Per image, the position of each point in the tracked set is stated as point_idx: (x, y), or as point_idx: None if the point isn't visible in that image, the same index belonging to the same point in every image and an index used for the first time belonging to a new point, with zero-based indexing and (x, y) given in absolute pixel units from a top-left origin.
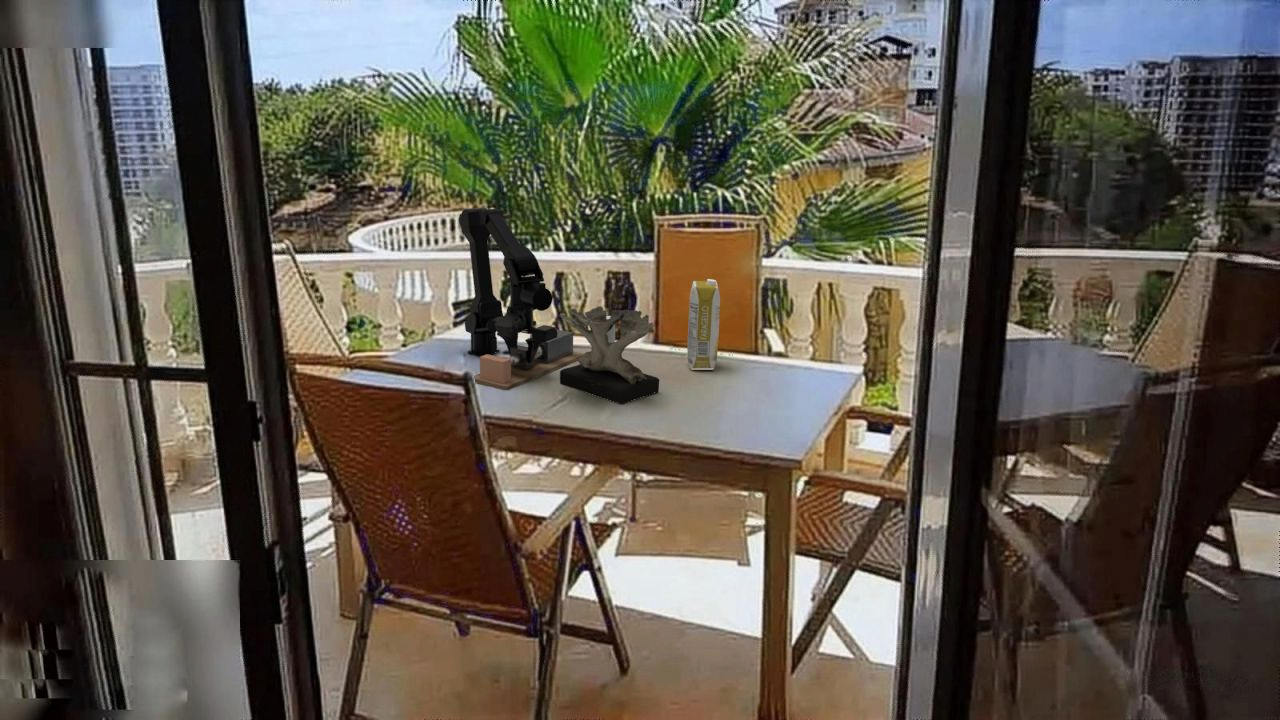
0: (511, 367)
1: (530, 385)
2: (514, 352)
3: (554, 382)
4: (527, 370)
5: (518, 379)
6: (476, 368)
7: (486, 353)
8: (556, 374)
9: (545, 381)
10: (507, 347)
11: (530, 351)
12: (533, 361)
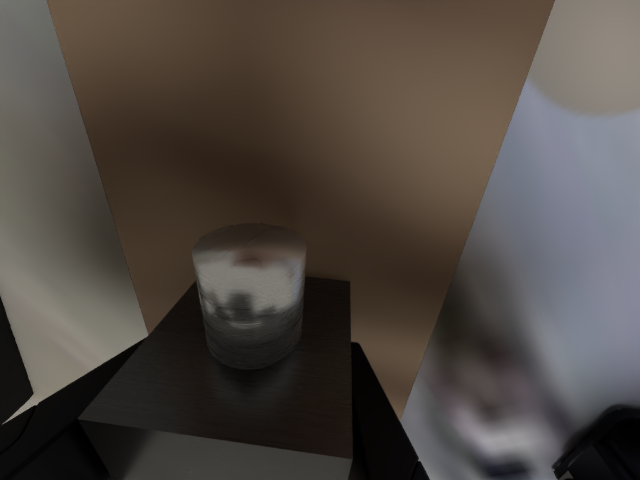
0: (352, 289)
1: (28, 57)
2: (290, 387)
3: (5, 211)
4: None
5: (99, 39)
6: (634, 219)
7: (623, 438)
8: (121, 325)
9: (52, 201)
10: (416, 460)
11: (32, 416)
12: None
